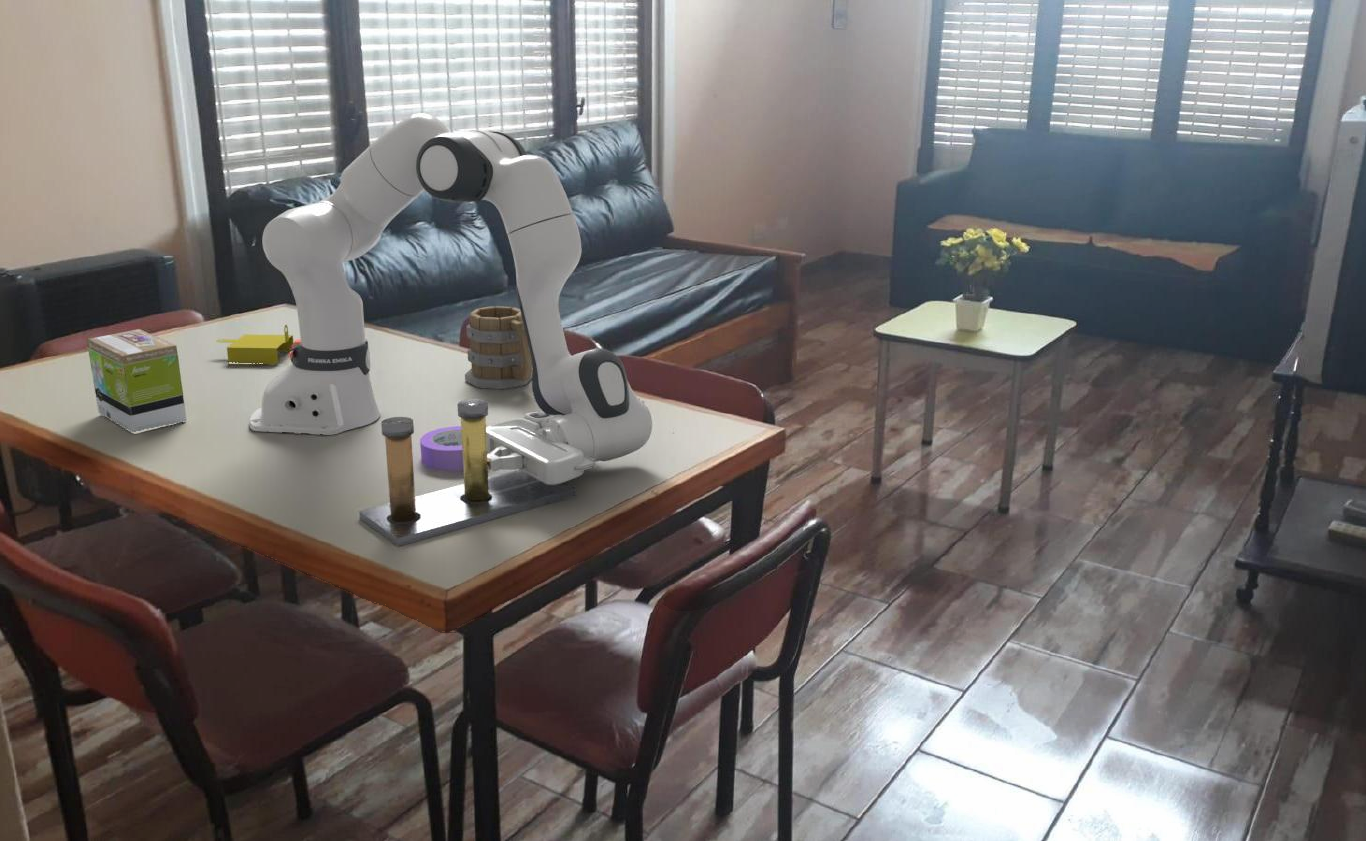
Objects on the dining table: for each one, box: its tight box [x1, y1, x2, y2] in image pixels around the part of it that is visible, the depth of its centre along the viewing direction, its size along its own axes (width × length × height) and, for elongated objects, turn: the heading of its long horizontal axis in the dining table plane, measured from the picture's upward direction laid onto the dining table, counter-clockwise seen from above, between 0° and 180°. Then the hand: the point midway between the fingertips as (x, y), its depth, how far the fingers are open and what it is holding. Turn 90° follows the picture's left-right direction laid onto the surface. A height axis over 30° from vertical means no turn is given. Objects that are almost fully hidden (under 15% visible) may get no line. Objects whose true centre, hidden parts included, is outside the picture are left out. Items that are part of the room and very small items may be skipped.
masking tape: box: [419, 425, 488, 472], centre depth 199 cm, size 12×12×4 cm
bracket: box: [215, 324, 294, 364], centre depth 253 cm, size 16×8×15 cm
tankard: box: [464, 305, 533, 390], centre depth 236 cm, size 20×13×15 cm, turn 37°
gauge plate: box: [358, 469, 577, 547], centre depth 180 cm, size 30×12×1 cm, turn 130°
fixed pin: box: [380, 416, 416, 522], centre depth 171 cm, size 4×4×15 cm
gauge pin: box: [457, 398, 489, 501], centre depth 178 cm, size 4×4×15 cm
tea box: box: [86, 328, 187, 432], centre depth 213 cm, size 15×10×15 cm
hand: (486, 463), depth 180 cm, fingers closed, pressing on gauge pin
